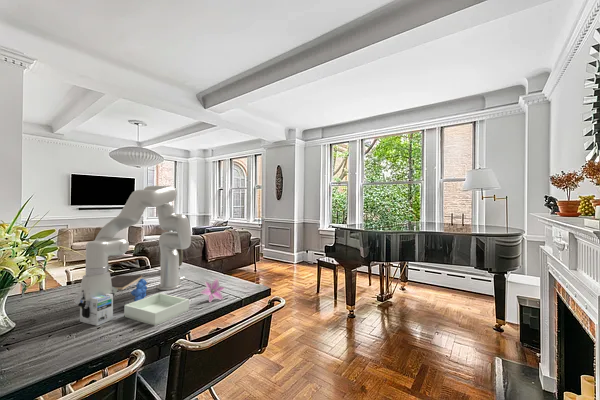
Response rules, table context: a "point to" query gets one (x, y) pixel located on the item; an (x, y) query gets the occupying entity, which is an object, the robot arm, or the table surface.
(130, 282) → the hardcover book
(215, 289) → the lily
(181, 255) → the tabletop clock
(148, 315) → the bin
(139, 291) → the grapes
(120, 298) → the table surface
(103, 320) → the light bulb box
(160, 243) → the robot arm
